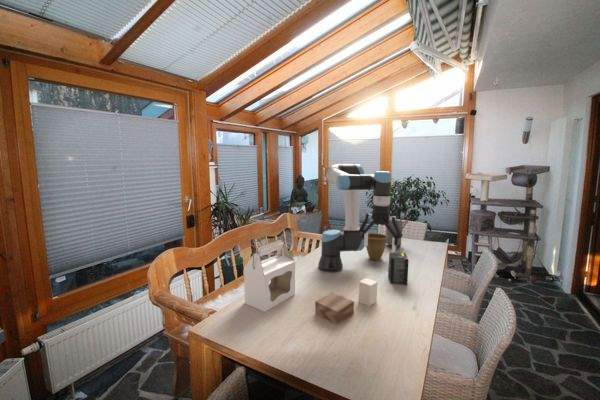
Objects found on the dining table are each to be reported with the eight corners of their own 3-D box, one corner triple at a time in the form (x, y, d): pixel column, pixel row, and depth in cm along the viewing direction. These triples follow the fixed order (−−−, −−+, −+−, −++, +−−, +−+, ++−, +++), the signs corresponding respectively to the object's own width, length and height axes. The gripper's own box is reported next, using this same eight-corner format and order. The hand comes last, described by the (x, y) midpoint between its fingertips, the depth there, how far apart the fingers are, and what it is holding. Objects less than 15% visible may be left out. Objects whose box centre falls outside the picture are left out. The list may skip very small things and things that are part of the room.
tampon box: (407, 285, 156) (409, 259, 153) (389, 283, 157) (391, 258, 155) (404, 277, 166) (406, 252, 164) (387, 275, 168) (389, 251, 166)
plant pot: (390, 259, 195) (392, 236, 193) (375, 264, 187) (377, 240, 184) (373, 253, 207) (374, 231, 205) (359, 257, 199) (360, 234, 196)
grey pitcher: (379, 246, 224) (381, 215, 220) (384, 241, 236) (386, 211, 232) (404, 250, 214) (406, 217, 210) (408, 245, 227) (410, 214, 223)
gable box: (264, 312, 127) (263, 251, 123) (244, 303, 135) (242, 245, 131) (295, 294, 145) (295, 240, 141) (276, 287, 153) (275, 235, 149)
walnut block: (315, 314, 127) (315, 301, 126) (331, 304, 135) (332, 292, 134) (337, 325, 118) (337, 311, 118) (353, 314, 127) (354, 301, 126)
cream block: (358, 301, 138) (359, 281, 136) (365, 297, 142) (366, 278, 140) (369, 306, 134) (370, 285, 132) (376, 301, 138) (377, 281, 136)
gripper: (353, 203, 138) (351, 246, 141) (406, 208, 123) (403, 256, 126) (359, 201, 144) (358, 242, 147) (411, 206, 129) (408, 251, 132)
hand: (379, 249), depth 137 cm, fingers open, 13 cm apart
